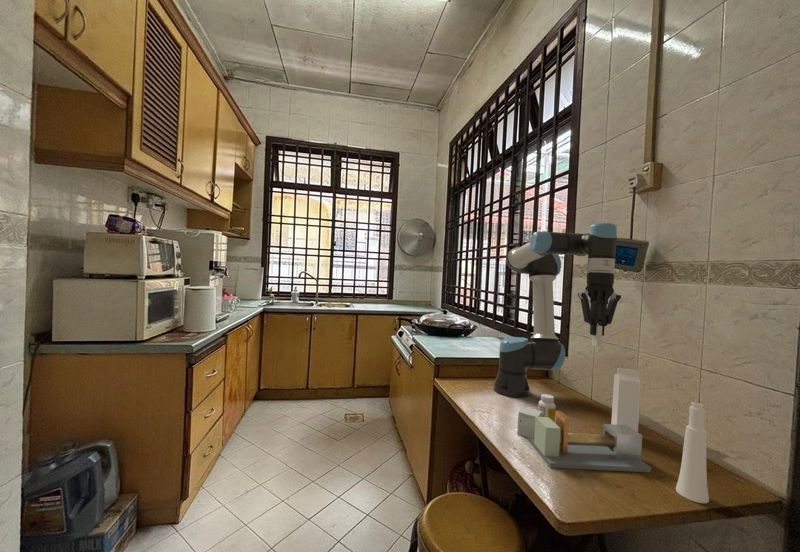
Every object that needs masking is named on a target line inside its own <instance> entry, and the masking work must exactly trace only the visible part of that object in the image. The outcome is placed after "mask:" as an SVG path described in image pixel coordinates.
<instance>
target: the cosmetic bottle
mask: <svg viewBox="0 0 800 552" xmlns="http://www.w3.org/2000/svg"><path fill="white" fill-rule="evenodd" d="M704 407H705V405H704V404H703V403H700V402H695V401H691V405H690V406H689V412H688V413H689V414H688V424H687V425H686V426H685V432H684V433H685V434H684V440H683V448H682V457H681V464H680V470H679V476H678V480H677V482H676V487H675V491H676V492H677V493H678V494H679V495H680V496H682V497H683V498H684V499H686V500H688V501H692V502H693V503H698V504H708V503H709V502H710V497H709V489H708V479H707V430H706V429H705V417H706V409H705V408H704Z"/></svg>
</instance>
